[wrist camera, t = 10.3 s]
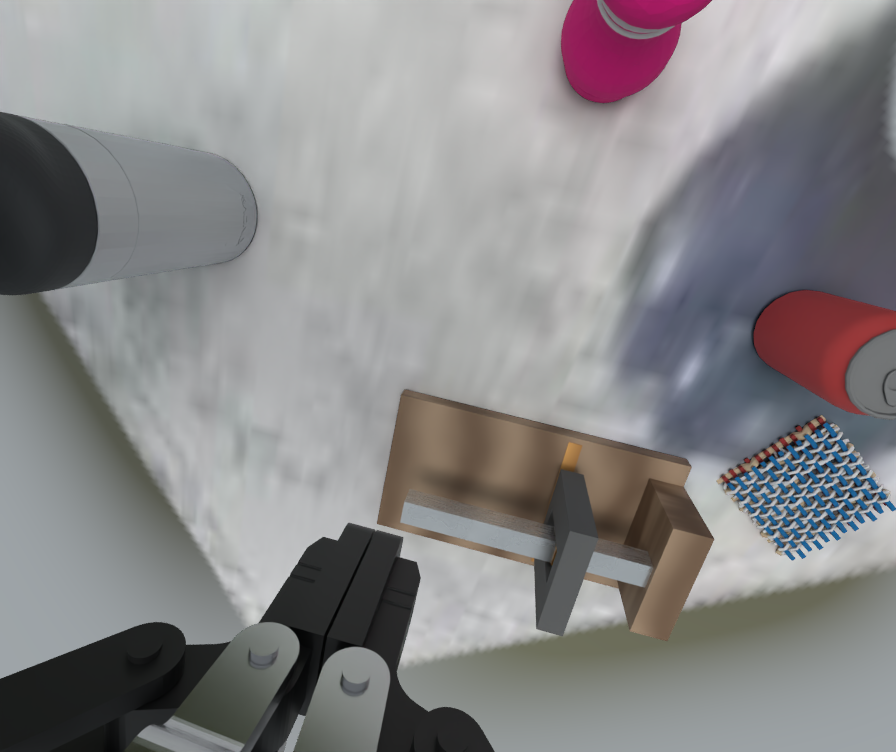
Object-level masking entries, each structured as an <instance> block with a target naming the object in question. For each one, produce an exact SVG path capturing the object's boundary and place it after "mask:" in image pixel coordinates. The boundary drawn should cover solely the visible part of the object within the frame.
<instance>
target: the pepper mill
mask: <svg viewBox="0 0 896 752" xmlns="http://www.w3.org/2000/svg"><path fill="white" fill-rule="evenodd" d="M711 1H712V0H573V2H572V4H571V6H570V8H569V10H568V13H567V15H566V18H565V21H564V24H563V29H562V36H561V50H562V56H563V61H564V66H565V71H566V75H567V78H568V80H569V82H570V84H571V86H572V87H573V88H574V90H575V91H576V92H577V93H578V94H579V95H581V96H582V97H584V98H585V99H587V100H590V101H593V102H599V103H609V102H614V101H617V100H620V99H622V98H624V97H626V96H630V95H632V94H634V93H636V92H638V91H640V90H642V89H644V88H645V87H646V86H648V85H649V84H650V83H651V82H653V81H654V80H655V79H656V78H657V77H658V76H659V74H660V73H661V72H662V70H663V69H664V68H665V66H666V64H667V63H668V61H669V59H670V58H671V56H672V54H673V52H674V50H675V48H676V46H677V43H678V39H679V36H680V31H681V23H682V22H684V21H686V20H688V19H689V18H691V17H692V16H694V15H695V14H697V13H698V12H700V11H701V10H702V9H704V8H705V7H706V6H707V5H708V4H709V3H710V2H711Z"/></svg>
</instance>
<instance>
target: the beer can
mask: <svg viewBox="0 0 896 752" xmlns="http://www.w3.org/2000/svg"><path fill="white" fill-rule="evenodd" d="M754 346H755V348H756V350H757V353H758V355H759V357H760V358H761V359H762V360H763V361H764V362H765V363H766V364H768V365H769V366H771V367H772V368H774V369H775V370H777V371H779V372H780V373H782V374H784V375H785V376H787V377H788V378H790V379H792V380H793V381H795V382H797V383H798V384H800V385H801V386H803V387H805V388H806V389H808V390H810V391H811V392H813V393H815V394H816V395H818V396H819V397H821V398H823V399H824V400H826V401H828V402H829V403H831V404H832V405H834V406H836V407H839V408H841V409H843V410H845V411H847V412H851V413H855V414H861V415H869V416H872V417H874V418H880V419H888V420H893V419H896V311H893V310H889V309H885V308H881V307H878V306H874V305H870V304H866V303H862V302H858V301H854V300H851V299H847V298H843V297H839V296H835V295H831V294H827V293H824V292H820V291H811V290H802V291H796V292H791V293H788V294H786V295H784V296H782V297H780V298H778V299H776V300H775V301H774V302H772V303H771V304H770V305H769V306H768V307H767V308H765V310H764V311H763V313H762V314H761V316H760V317H759V319H758V320H757V323H756V326H755V330H754Z"/></svg>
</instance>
